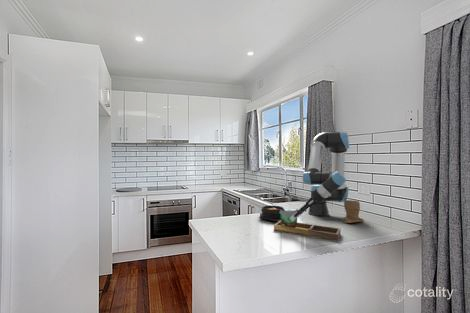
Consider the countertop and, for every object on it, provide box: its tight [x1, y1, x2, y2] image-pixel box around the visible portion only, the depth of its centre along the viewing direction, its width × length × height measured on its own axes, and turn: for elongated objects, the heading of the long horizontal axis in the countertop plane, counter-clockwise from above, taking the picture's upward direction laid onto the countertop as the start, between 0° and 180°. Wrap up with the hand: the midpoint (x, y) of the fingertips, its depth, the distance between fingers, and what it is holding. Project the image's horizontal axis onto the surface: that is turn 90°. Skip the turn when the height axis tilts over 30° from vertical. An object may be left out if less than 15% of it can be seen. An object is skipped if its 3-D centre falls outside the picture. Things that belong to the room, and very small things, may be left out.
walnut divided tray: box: [273, 220, 341, 242], centre depth 148 cm, size 13×36×4 cm, turn 62°
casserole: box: [259, 205, 286, 222], centre depth 178 cm, size 25×19×8 cm
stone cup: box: [341, 199, 365, 224], centre depth 174 cm, size 15×12×15 cm
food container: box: [280, 208, 299, 228], centre depth 150 cm, size 12×6×10 cm, turn 109°
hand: (293, 217), depth 151 cm, fingers closed on food container, 9 cm apart
